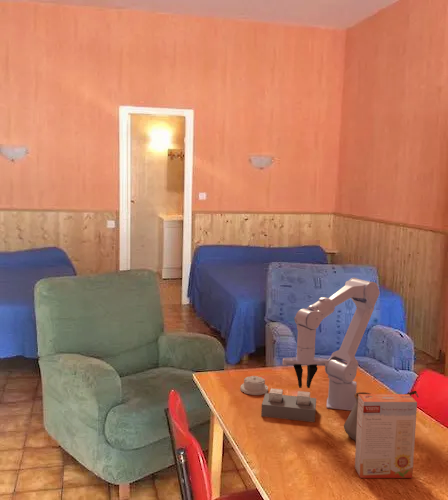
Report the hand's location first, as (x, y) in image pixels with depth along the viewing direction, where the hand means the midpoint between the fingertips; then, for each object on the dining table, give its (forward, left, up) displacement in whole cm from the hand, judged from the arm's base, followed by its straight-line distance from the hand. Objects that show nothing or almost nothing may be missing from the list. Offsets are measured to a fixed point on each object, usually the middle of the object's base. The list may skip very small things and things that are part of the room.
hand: (304, 386), depth 185 cm
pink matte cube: (0, 0, -6) cm, 6 cm away
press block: (+5, 0, -9) cm, 10 cm away
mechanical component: (+19, -17, -10) cm, 27 cm away
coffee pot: (-23, +11, -10) cm, 28 cm away
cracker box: (-23, +32, -10) cm, 41 cm away
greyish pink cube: (+9, 0, -6) cm, 11 cm away
